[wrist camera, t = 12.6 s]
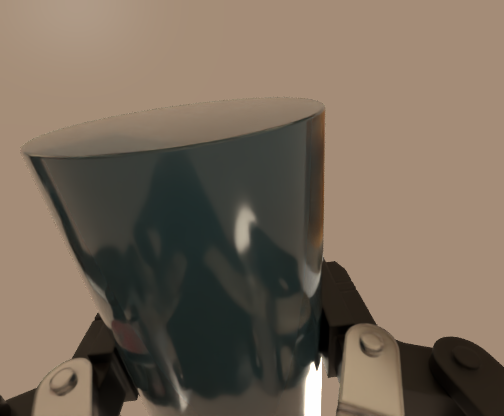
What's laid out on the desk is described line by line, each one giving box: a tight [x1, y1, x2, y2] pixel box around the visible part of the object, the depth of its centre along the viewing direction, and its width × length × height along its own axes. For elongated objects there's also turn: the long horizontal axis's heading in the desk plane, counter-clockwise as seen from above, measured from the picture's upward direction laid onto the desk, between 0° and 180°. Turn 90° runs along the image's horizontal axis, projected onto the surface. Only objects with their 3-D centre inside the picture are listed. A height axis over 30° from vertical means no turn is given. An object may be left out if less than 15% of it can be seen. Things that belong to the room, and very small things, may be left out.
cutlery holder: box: [20, 97, 325, 416], centre depth 10 cm, size 6×6×18 cm
